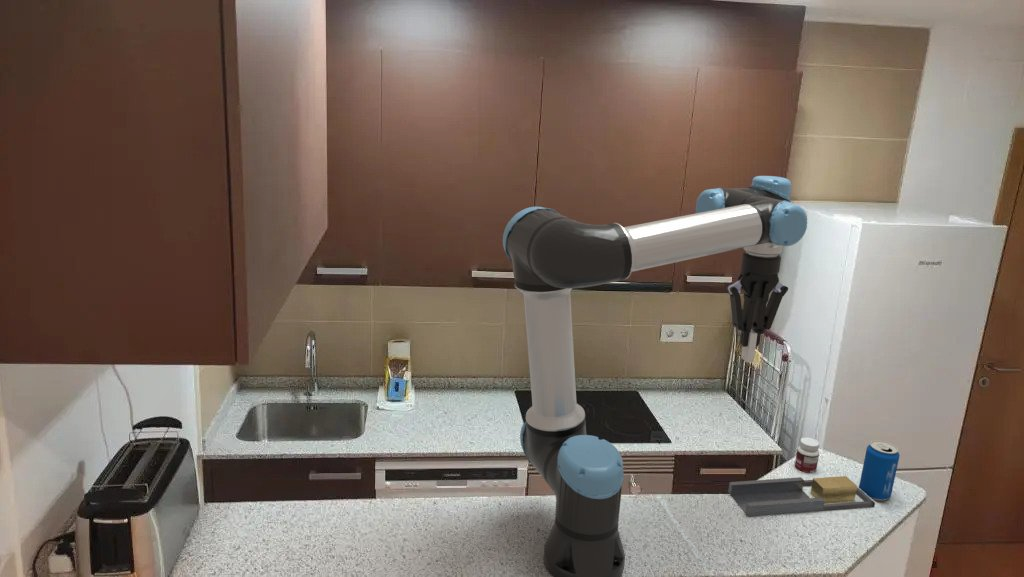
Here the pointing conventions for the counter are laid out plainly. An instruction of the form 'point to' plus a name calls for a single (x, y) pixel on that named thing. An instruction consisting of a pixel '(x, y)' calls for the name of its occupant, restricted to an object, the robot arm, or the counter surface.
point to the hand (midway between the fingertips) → (747, 359)
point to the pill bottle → (807, 455)
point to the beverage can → (879, 470)
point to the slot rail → (773, 497)
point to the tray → (851, 505)
